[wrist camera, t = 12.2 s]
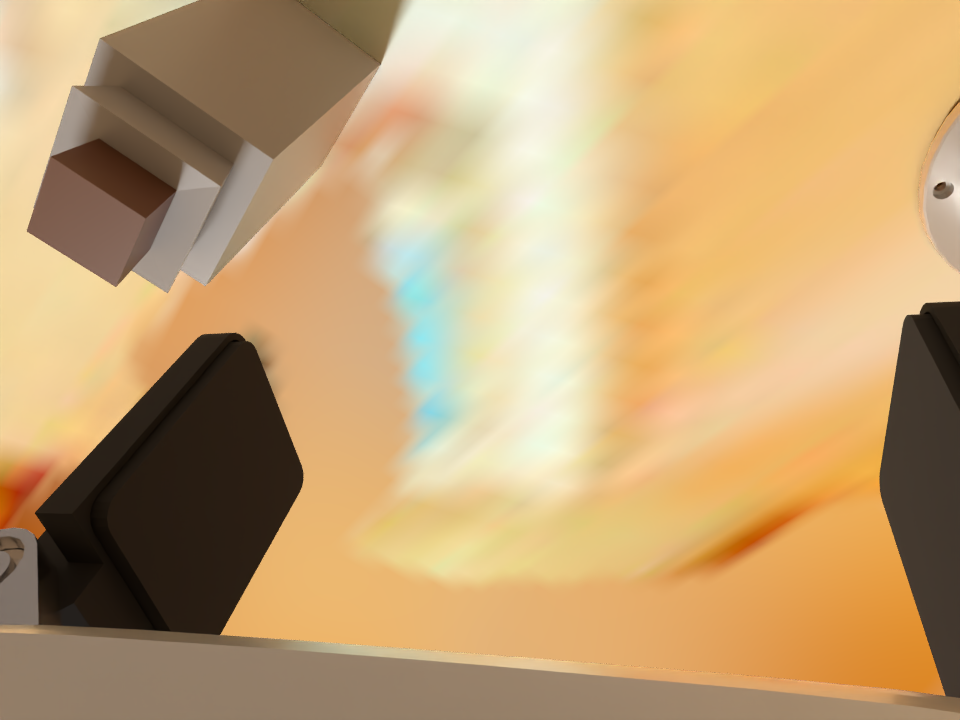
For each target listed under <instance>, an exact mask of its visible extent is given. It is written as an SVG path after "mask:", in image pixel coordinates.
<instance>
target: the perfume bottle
mask: <svg viewBox="0 0 960 720" xmlns="http://www.w3.org/2000/svg"><path fill="white" fill-rule="evenodd" d="M380 65H381V64H380V63H379V62H377V61H376V60H375V59H373V58H372V57H371V56H369V55H368V54H367V53H365V52H364V51H363V50H361V49H360V48H359V47H357V46H356V45H355V44H353V43H352V42H351V41H350V40H348V39H347V38H346V37H344V36H343V35H342V34H340V33H339V32H338V31H336V30H335V29H334V28H332V27H331V26H330V25H328V24H327V23H326V22H324V21H323V20H322V19H320V18H319V17H318V16H316V15H315V14H314V13H312V12H311V11H310V10H308V9H307V8H306V7H304V6H303V5H302V4H301V3H299V2H298V1H297V0H199V1H196V2H193V3H191V4H188V5H186V6H183V7H180V8H178V9H175V10H173V11H170V12H167V13H165V14H162V15H160V16H157V17H154V18H152V19H149V20H147V21H144V22H141V23H139V24H136V25H134V26H131V27H128V28H126V29H123V30H121V31H118V32H115V33H113V34H110V35H108V36H105V37H102V38H100V39H99V42H98V46H97V49H96V52H95V55H94V58H93V61H92V64H91V67H90V70H89V73H88V76H87V79H86V82H85V85H84V86H72V88H71V91H70V94H69V97H68V100H67V104H66V107H65V110H64V113H63V116H62V119H61V123H60V126H59V129H58V132H57V135H56V138H55V141H54V145H53V148H52V151H51V154H50V157H49V160H48V164H47V167H46V170H45V173H44V176H43V179H42V183H41V186H40V189H39V192H38V195H37V198H36V201H35V205H34V210H33V213H32V217H31V220H30V223H29V226H28V229H27V232H29V233H30V234H32V235H34V236H35V237H37V238H38V239H40V240H42V241H43V242H45V243H46V244H48V245H50V246H51V247H53V248H54V249H56V250H58V251H59V252H61V253H62V254H64V255H66V256H67V257H69V258H70V259H72V260H74V261H75V262H77V263H78V264H80V265H82V266H83V267H85V268H86V269H88V270H90V271H91V272H93V273H94V274H96V275H98V276H99V277H101V278H102V279H104V280H106V281H107V282H109V283H110V284H112V285H114V286H115V287H116V286H117V285H118V284H119V283H120V282H121V281H122V280H123V279H124V278H125V277H126V275H127V274H128V273H129V272H130V271H131V270H132V271H133V272H135V273H137V274H138V275H140V276H141V277H143V278H145V279H146V280H148V281H149V282H151V283H152V284H154V285H156V286H157V287H159V288H160V289H162V290H163V291H165V292H167V293H168V292H169V290H170V288H171V286H172V284H173V283H174V281H175V279H176V277H177V275H178V273H179V271H180V270H181V271H183V272H184V273H186V274H187V275H189V276H190V277H192V278H194V279H195V280H197V281H198V282H200V283H201V284H203V285H204V286H206V285H207V284H208V283H209V282H210V281H211V280H212V279H213V278H214V277H215V276H216V275H217V274H218V273H219V272H220V271H221V270H222V269H223V268H224V266H225V265H226V264H227V263H228V262H229V261H230V260H231V259H232V258H233V257H234V256H235V255H236V254H237V253H238V252H239V251H240V250H241V249H242V248H243V247H244V246H245V245H246V244H247V243H248V242H249V241H250V239H251V238H252V237H253V236H254V235H255V234H256V233H257V232H258V231H259V230H260V229H261V228H262V227H263V226H264V225H265V224H266V223H267V222H268V221H269V220H270V219H271V218H272V217H273V216H274V215H275V214H276V212H277V211H278V210H279V209H280V208H281V207H282V206H283V205H284V204H285V203H286V202H287V201H288V200H289V199H290V198H291V197H292V196H293V195H294V194H295V193H296V192H297V191H298V190H299V189H300V188H301V187H302V186H303V184H304V183H305V182H306V181H307V180H308V179H309V178H310V177H311V176H312V175H313V174H314V173H315V172H316V171H317V170H318V169H319V168H320V167H321V165H322V164H323V162H324V160H325V159H326V157H327V155H328V154H329V152H330V150H331V148H332V147H333V145H334V143H335V142H336V140H337V138H338V136H339V135H340V133H341V131H342V130H343V128H344V126H345V124H346V123H347V121H348V119H349V118H350V116H351V114H352V113H353V111H354V109H355V107H356V106H357V104H358V102H359V101H360V99H361V97H362V95H363V94H364V92H365V90H366V89H367V87H368V85H369V83H370V82H371V80H372V78H373V77H374V75H375V73H376V72H377V70H378V68H379V66H380Z"/></svg>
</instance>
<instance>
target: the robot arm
mask: <svg viewBox="0 0 960 720" xmlns="http://www.w3.org/2000/svg"><path fill="white" fill-rule="evenodd" d="M941 182H943V183H942V185H941V186H939V187H937V188H934V187H935V186H936V185H937V184H938V183H941ZM918 198H919V214H920V217H921V220H922V223H923V226H924V229H925V232H926V234H927V236H928V238H929V239H930V241H931V243H932V244H933V246H934V248H935V249H936V251H937V252H938V253H939V254H940V255H941V257H942V258H943V259H944V260H945V261H946V263H947V264H948V265H949V266H950V267H951V268H953V269H954V270H955V271H957V272H958V273H960V102H959V103H958V104H957V105H956V106H955V108H954V109H953V110H952V111H951V112H950V114H949V115H948V116H947V117H946V119H945V121H944V122H943V124H942V126H941V127H940V129H939V131H938V132H937V134H936V136H935V137H934V139H933V141H932V142H931V145H930V148H929V150H928V153H927V155H926V158H925V161H924V163H923V166H922V170H921V177H920V183H919V189H918ZM302 484H303V469H302V465H301V463H300V460H299V458H298V455H297V453H296V450H295V448H294V445H293V442H292V440H291V437H290V435H289V432H288V430H287V427H286V425H285V422H284V420H283V417H282V414H281V412H280V409H279V407H278V404H277V402H276V399H275V397H274V394H273V391H272V389H271V386H270V384H269V381H268V379H267V376H266V374H265V371H264V369H263V366H262V363H261V361H260V358H259V356H258V353H257V351H256V349H255V347H254V345H253V344H252V343H251V342H248V341H245V339H244V338H243V337H242V336H241V335H240V334H237V333H221V334H204V335H201V336H200V337H198V338H197V339H196V340H195V341H194V342H193V343H192V345H190V347H189V348H188V349H187V350H186V351H185V352H184V353H183V354H182V355H181V356H180V357H179V358H178V359H177V361H176V362H175V363H174V364H173V365H172V366H171V367H170V368H169V369H168V370H167V371H166V372H165V373H164V374H163V376H162V377H161V378H160V379H159V380H158V381H157V382H156V383H155V384H154V385H153V386H152V387H151V388H150V390H149V391H148V392H147V393H146V394H145V395H144V396H143V397H142V398H141V399H140V400H139V401H138V402H137V403H136V405H135V406H134V407H133V408H132V409H131V410H130V411H129V412H128V413H127V414H126V415H125V416H124V417H123V419H122V420H121V421H120V422H119V423H118V424H117V425H116V426H115V427H114V428H113V429H112V430H111V431H110V433H109V434H108V435H107V436H106V437H105V438H104V439H103V440H102V441H101V442H100V443H99V444H98V445H97V446H96V448H95V449H94V450H93V451H92V452H91V453H90V454H89V455H88V456H87V457H86V458H85V459H84V460H83V462H82V463H81V464H80V465H79V466H78V467H77V468H76V469H75V470H74V471H73V472H72V473H71V474H70V475H69V477H68V478H67V479H66V480H65V481H64V482H63V483H62V484H61V485H60V486H59V487H58V488H57V489H56V491H55V492H54V493H53V494H52V495H51V496H50V497H49V498H48V499H47V500H46V501H45V502H44V503H43V505H42V506H41V507H40V508H39V509H38V510H37V511H36V512H35V514H36V515H37V517H38V518H39V520H40V521H41V523H42V524H43V526H44V527H45V529H46V531H45V532H44V533H43V534H42V535H41V536H40V538H39V539H38V540H37V538H36V537H35V535H34V534H32V533H31V532H29V531H28V530H26V529H20V528H9V529H2V530H0V720H960V302H937V303H925V304H924V305H923V307H922V309H921V311H920V315H907V316H906V318H905V320H904V323H903V328H902V334H901V340H900V347H899V353H898V360H897V366H896V372H895V379H894V385H893V392H892V398H891V404H890V411H889V417H888V424H887V430H886V436H885V443H884V449H883V456H882V462H881V468H880V492H881V498H882V501H883V505H884V508H885V511H886V514H887V517H888V520H889V523H890V526H891V529H892V532H893V535H894V538H895V541H896V545H897V547H898V551H899V554H900V557H901V560H902V563H903V566H904V569H905V572H906V575H907V578H908V581H909V584H910V588H911V591H912V594H913V597H914V600H915V603H916V606H917V609H918V612H919V615H920V618H921V621H922V624H923V627H924V630H925V634H926V637H927V640H928V643H929V646H930V649H931V652H932V655H933V658H934V661H935V664H936V667H937V670H938V673H939V677H940V680H941V683H942V686H943V689H944V691H945V695H946V696H941V695H933V694H926V693H918V692H910V691H903V690H895V689H885V688H874V687H864V686H854V685H843V684H833V683H822V682H811V681H801V680H791V679H780V678H769V677H759V676H749V675H738V674H725V673H713V672H701V671H688V670H675V669H663V668H651V667H638V666H625V665H613V664H601V663H588V662H575V661H563V660H551V659H538V658H526V657H525V658H524V657H513V656H500V655H486V654H473V653H460V652H446V651H433V650H420V649H407V648H393V647H378V646H366V645H352V644H339V643H325V642H311V641H298V640H283V639H268V638H253V637H239V636H225V635H220V634H221V632H222V631H223V629H224V627H225V625H226V623H227V621H228V619H229V618H230V616H231V614H232V613H233V611H234V609H235V607H236V605H237V603H238V602H239V600H240V598H241V596H242V595H243V593H244V591H245V589H246V587H247V586H248V584H249V582H250V580H251V578H252V576H253V575H254V573H255V571H256V569H257V568H258V566H259V564H260V562H261V560H262V558H263V557H264V555H265V553H266V552H267V550H268V548H269V546H270V544H271V543H272V541H273V539H274V537H275V535H276V533H277V532H278V530H279V528H280V526H281V525H282V522H283V521H284V519H285V517H286V516H287V514H288V512H289V510H290V508H291V507H292V505H293V503H294V501H295V499H296V498H297V496H298V494H299V492H300V490H301V488H302Z"/></svg>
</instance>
